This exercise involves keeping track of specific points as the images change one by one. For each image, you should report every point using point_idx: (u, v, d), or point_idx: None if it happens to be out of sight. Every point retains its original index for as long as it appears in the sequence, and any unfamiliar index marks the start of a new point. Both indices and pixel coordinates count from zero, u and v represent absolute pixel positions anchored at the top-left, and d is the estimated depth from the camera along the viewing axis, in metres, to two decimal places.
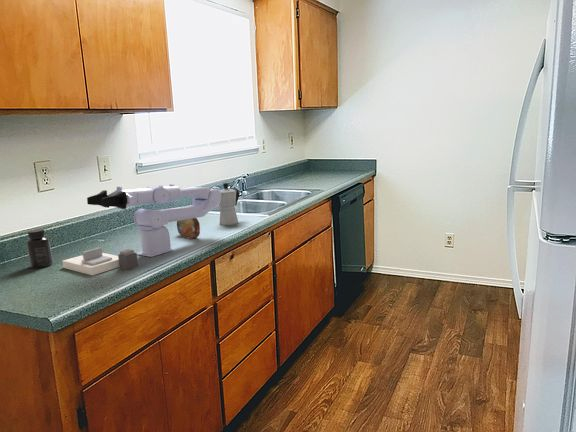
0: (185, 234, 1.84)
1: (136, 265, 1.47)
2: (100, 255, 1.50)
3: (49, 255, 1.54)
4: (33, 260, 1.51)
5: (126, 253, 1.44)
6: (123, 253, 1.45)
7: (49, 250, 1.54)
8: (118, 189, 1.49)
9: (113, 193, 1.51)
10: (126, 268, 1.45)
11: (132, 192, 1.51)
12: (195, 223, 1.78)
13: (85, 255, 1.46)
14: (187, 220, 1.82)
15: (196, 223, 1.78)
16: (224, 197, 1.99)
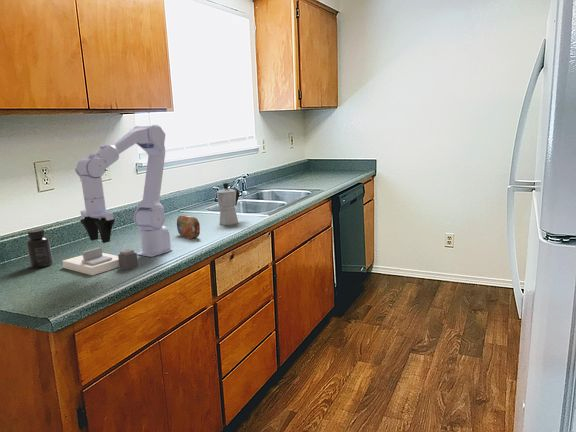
0: (185, 234, 1.84)
1: (136, 265, 1.47)
2: (100, 255, 1.50)
3: (49, 255, 1.54)
4: (33, 260, 1.51)
5: (126, 253, 1.44)
6: (123, 253, 1.45)
7: (49, 250, 1.54)
8: None
9: None
10: (126, 268, 1.45)
11: (92, 203, 1.39)
12: (195, 223, 1.78)
13: (85, 255, 1.46)
14: (187, 220, 1.82)
15: (196, 223, 1.78)
16: (224, 197, 1.99)
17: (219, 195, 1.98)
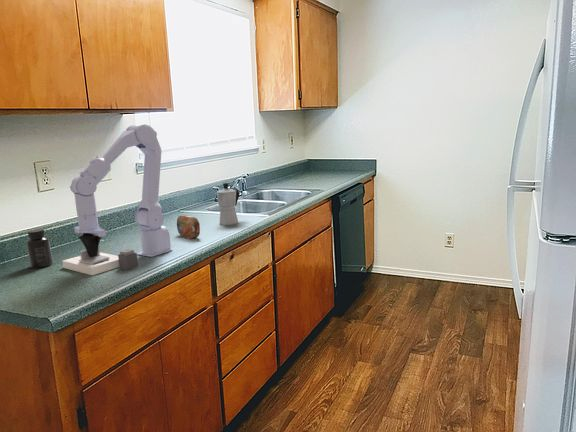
0: (185, 234, 1.84)
1: (136, 265, 1.47)
2: (97, 254, 1.51)
3: (49, 255, 1.54)
4: (33, 260, 1.51)
5: (126, 253, 1.44)
6: (123, 253, 1.45)
7: (49, 250, 1.54)
8: (80, 232, 1.44)
9: None
10: (126, 268, 1.45)
11: (85, 220, 1.43)
12: (195, 223, 1.78)
13: (82, 254, 1.46)
14: (187, 220, 1.82)
15: (196, 223, 1.78)
16: (224, 197, 1.99)
17: (219, 195, 1.98)
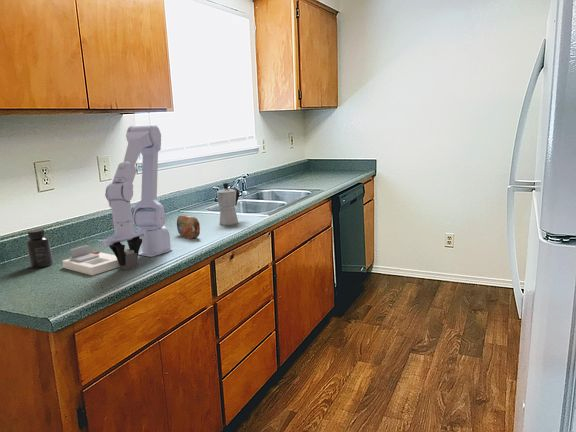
0: (185, 234, 1.84)
1: (136, 265, 1.47)
2: (88, 252, 1.54)
3: (49, 255, 1.54)
4: (33, 260, 1.51)
5: (126, 253, 1.44)
6: None
7: (49, 250, 1.54)
8: None
9: None
10: (126, 268, 1.45)
11: None
12: (195, 223, 1.78)
13: (73, 252, 1.50)
14: (187, 220, 1.82)
15: (196, 223, 1.78)
16: (224, 197, 1.99)
17: (219, 195, 1.98)
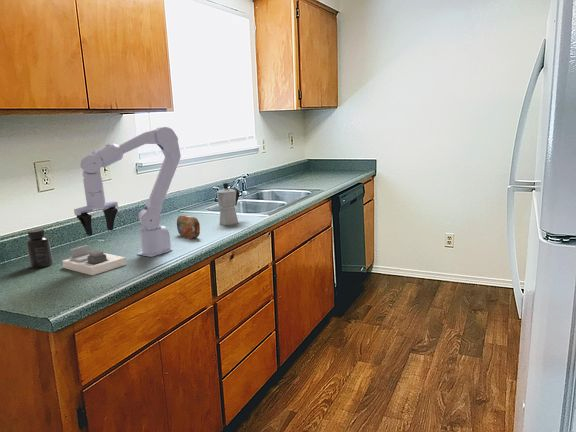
0: (185, 234, 1.84)
1: None
2: (88, 252, 1.54)
3: (49, 255, 1.54)
4: (33, 260, 1.51)
5: (95, 254, 1.45)
6: (92, 255, 1.45)
7: (49, 250, 1.54)
8: None
9: None
10: None
11: None
12: (195, 223, 1.78)
13: (73, 252, 1.50)
14: (187, 220, 1.82)
15: (196, 223, 1.78)
16: (224, 197, 1.99)
17: (219, 195, 1.98)
